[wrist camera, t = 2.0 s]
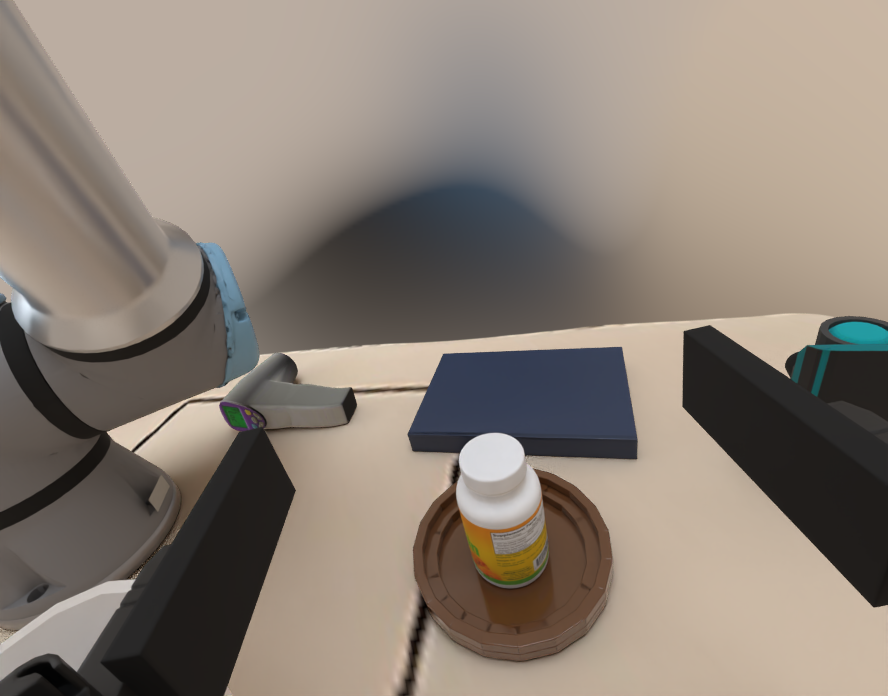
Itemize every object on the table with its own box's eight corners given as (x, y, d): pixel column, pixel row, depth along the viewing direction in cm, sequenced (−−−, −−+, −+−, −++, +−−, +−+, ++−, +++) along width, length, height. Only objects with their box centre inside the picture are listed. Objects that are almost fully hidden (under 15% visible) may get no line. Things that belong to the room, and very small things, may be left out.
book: (412, 451, 42) (407, 434, 41) (446, 368, 54) (443, 353, 52) (636, 459, 36) (637, 439, 35) (621, 363, 47) (621, 346, 46)
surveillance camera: (870, 273, 31) (958, 350, 23) (828, 406, 37) (887, 503, 29) (773, 278, 33) (823, 350, 25) (749, 403, 39) (783, 493, 31)
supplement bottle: (466, 531, 33) (440, 437, 28) (534, 513, 33) (519, 415, 29) (482, 601, 28) (455, 501, 24) (561, 578, 29) (550, 475, 24)
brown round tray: (382, 606, 30) (375, 591, 29) (469, 465, 39) (465, 451, 38) (582, 708, 23) (581, 693, 22) (628, 508, 32) (628, 492, 31)
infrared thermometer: (346, 437, 48) (225, 436, 50) (377, 372, 58) (275, 375, 61) (335, 404, 45) (209, 405, 48) (370, 343, 55) (263, 347, 58)
